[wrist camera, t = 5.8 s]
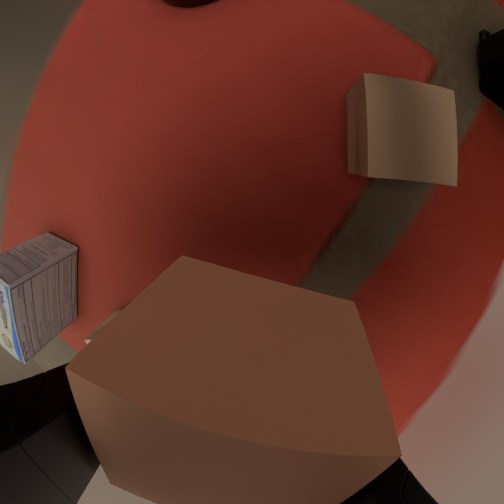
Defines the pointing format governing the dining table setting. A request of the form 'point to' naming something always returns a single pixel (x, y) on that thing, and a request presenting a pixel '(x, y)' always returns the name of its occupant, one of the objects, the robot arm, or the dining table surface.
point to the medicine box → (36, 294)
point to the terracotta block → (234, 393)
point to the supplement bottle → (185, 2)
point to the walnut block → (401, 130)
